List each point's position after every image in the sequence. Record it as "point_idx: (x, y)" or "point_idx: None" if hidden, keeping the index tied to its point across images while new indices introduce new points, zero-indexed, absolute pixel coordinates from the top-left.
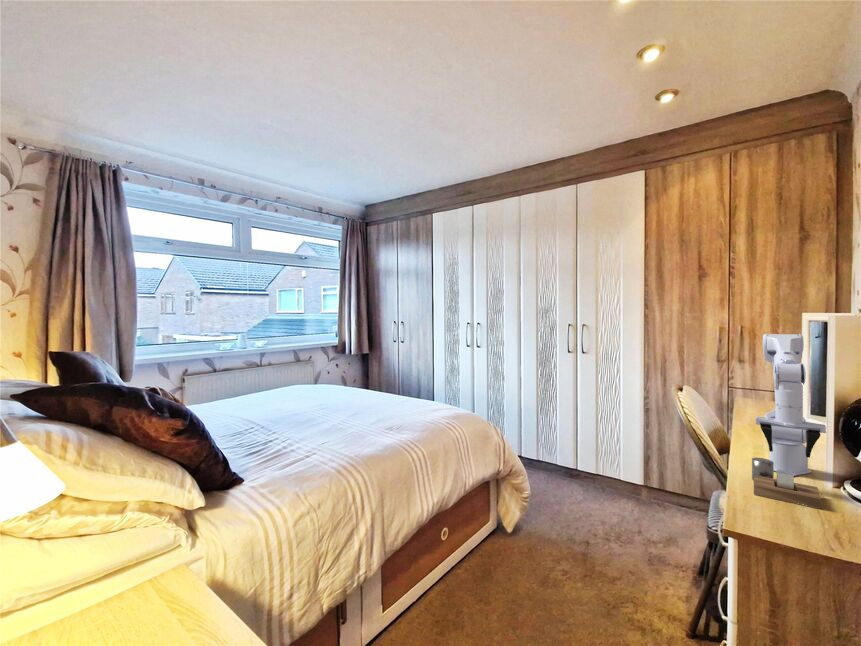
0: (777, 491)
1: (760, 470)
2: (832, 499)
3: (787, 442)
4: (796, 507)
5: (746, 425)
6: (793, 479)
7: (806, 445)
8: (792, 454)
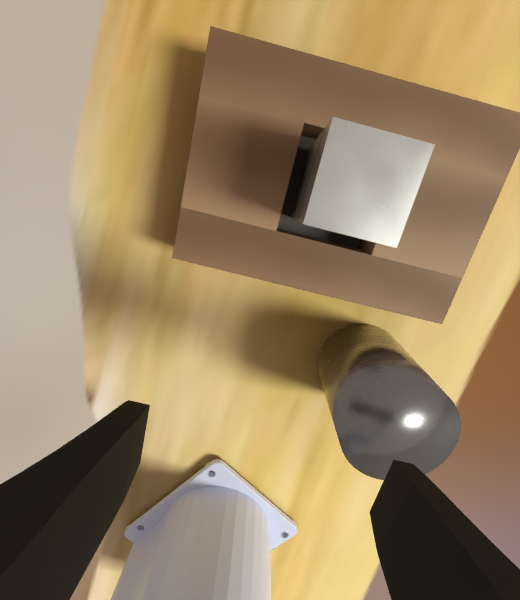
0: (414, 88)
1: (408, 359)
2: (131, 238)
3: None
4: (337, 21)
5: None
6: (328, 123)
7: (82, 560)
8: (181, 587)
